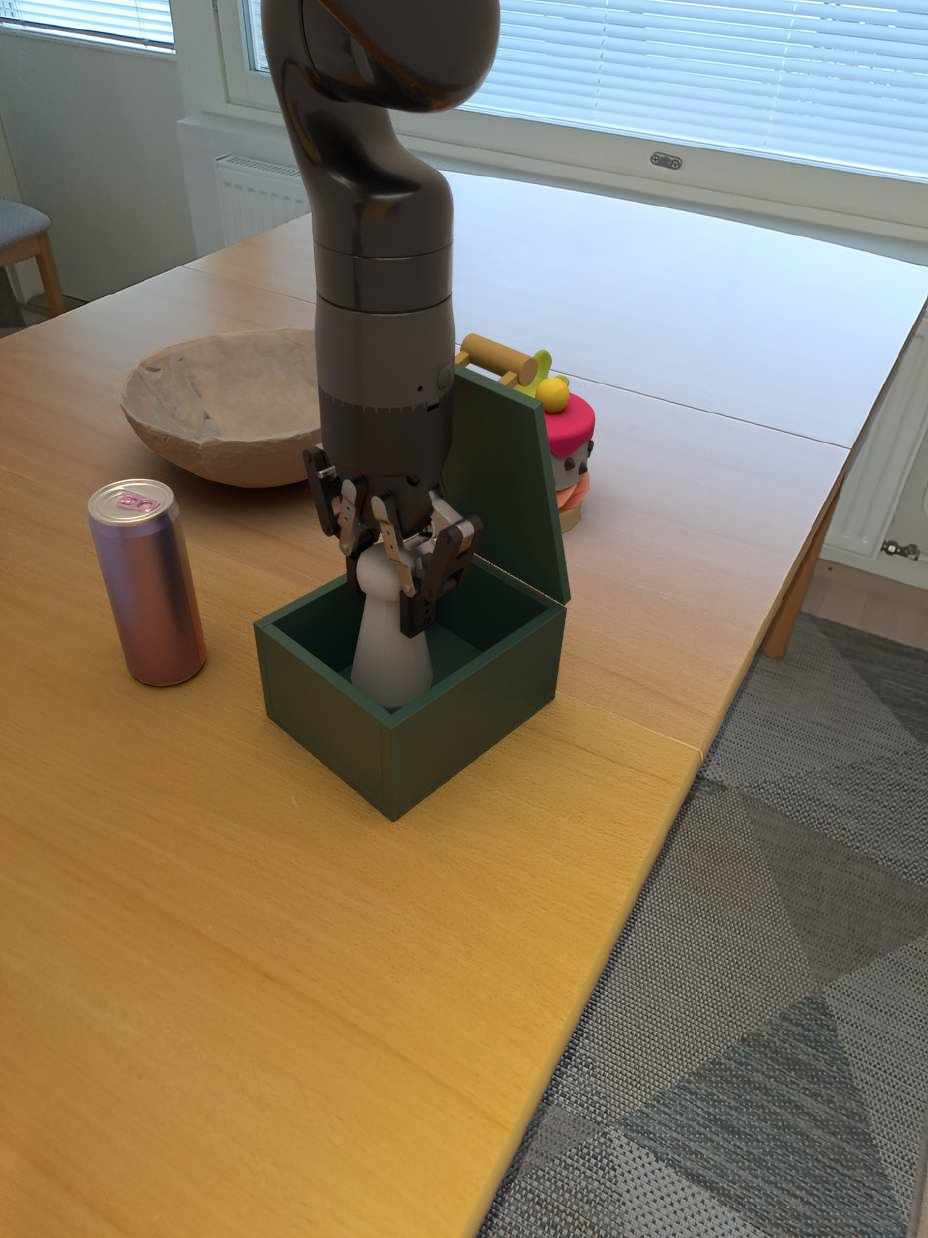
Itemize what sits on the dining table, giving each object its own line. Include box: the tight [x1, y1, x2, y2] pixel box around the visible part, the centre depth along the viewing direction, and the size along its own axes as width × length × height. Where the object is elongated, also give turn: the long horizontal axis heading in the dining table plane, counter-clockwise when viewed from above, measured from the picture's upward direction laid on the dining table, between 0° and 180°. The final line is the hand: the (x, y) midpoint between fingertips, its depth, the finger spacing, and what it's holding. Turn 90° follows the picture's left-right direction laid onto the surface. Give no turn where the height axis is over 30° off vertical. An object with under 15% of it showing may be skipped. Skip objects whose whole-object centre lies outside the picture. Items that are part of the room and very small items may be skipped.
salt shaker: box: [351, 541, 434, 715], centre depth 62 cm, size 6×6×13 cm
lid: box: [442, 332, 572, 607], centre depth 61 cm, size 18×14×5 cm
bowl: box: [118, 326, 322, 489], centre depth 92 cm, size 26×26×10 cm
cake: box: [513, 349, 596, 534], centre depth 85 cm, size 10×10×15 cm
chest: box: [252, 534, 568, 823], centre depth 66 cm, size 17×14×9 cm
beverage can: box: [87, 478, 207, 687], centre depth 66 cm, size 6×6×15 cm
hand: (390, 612), depth 61 cm, fingers closed on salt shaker, 4 cm apart
